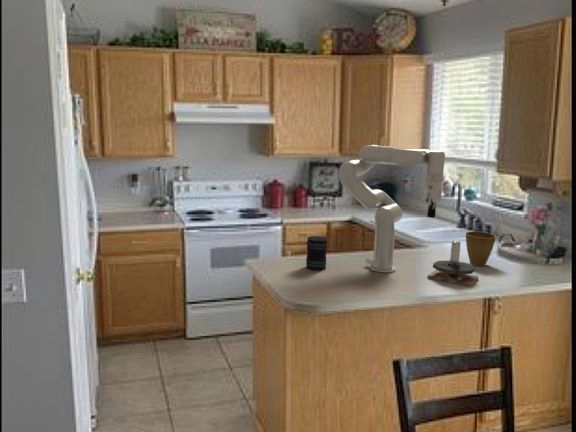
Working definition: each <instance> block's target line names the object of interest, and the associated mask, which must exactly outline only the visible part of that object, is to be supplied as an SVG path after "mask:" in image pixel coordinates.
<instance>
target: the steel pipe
mask: <svg viewBox="0 0 576 432" xmlns="http://www.w3.org/2000/svg"><path fill="white" fill-rule="evenodd" d="M461 243H462V241H459V240H452V241H451V246H450V259H449V261H450V267H458V266H459V262H460V255H461V254H460V253H461ZM449 276H451V277H457V276H458V275H457V274H450V273H449Z"/></svg>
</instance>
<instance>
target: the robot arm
mask: <svg viewBox="0 0 576 432" xmlns="http://www.w3.org/2000/svg"><path fill="white" fill-rule="evenodd" d="M358 155H359V157H357V158H356V159H351V160H347V161H344V162H343V163H342V164H340V167H339V169H338V178H339V181H340V184H341V185H342V186H343V187H344V189H345V190H346V191H348V193H350V195H351V196H352V197H354V198H355V200H357V201H358V202H359V203H360V204H361V205H362V206H363V208H364V209H366V210H368V211H373V210H376V211H375V213H374V227H375V228H374V230H375V231H374V245H373V246H374V247H373V258H366V259H365V262H366V263H365V264H370V265H369V270H371V271H374V272H377V273H394V272H395V271H396V269H397V268H396V267H395V266H394V265H393V264H394V251H395V250H394V249H395V238H396V237H395V236H396V231H395V224H396V223H398V222H400V220H401V219H402V218H403V210H402V208H401V206H400V205H399V204H398V203H397V202H396V201H395V200H393V198H391V197H390V196H389V195H388V193H386V192H385V191H384V190H381V189H373V188H371V187H370V186H368V185H367V184H366V183H365V182H364V181H363V180H362V179H360V178H359V177H361V176H363V175H365V174H366V173H367V172H369V170H371V169H372V168H373V167H374V166H376V165H377V164H381V165H392V166H394V165H396V166H402V167H403V166H404V167H406V166H407V167H420V166H426V173H425V181H427V182H426V189H425V198H424V199H425V200H424V202H426V203H427V204H426V205H427V216H426V217H428V218H433V219H434V218H436V210H437V209H436V208H437V203H440V202H441V201H442V197H443V196H442V195H443V193H442V192H443V191H442V188H443V182H444V171H445V170H444V169H445V168H444V167H445V161H446V159H445V157H446V153H445V152H444V151H443V150H429V149H424V148H420V149H419V148H418V149H406V148H405V149H404V148H403V149H402V148H396V147H395V146H391V145H389V146H388V145H386V146H385V145H376V144H369V145H367V144H366V145H364V146H362V147H361V148H360V150H359V154H358Z"/></svg>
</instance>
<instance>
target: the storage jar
mask: <svg viewBox="0 0 576 432" xmlns="http://www.w3.org/2000/svg"><path fill="white" fill-rule="evenodd" d="M306 250H307V252H306V253H307V254H306V258H305V259H306V260H305V261H306V262H305V264H306V266H305V268H306V269H307V270H309V271H313V272H320V271H326V268H327V267H326V266H327V250H328V237H325V236H319V235H315V236H313V235H312V236H308V237H307V242H306Z"/></svg>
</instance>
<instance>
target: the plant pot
mask: <svg viewBox="0 0 576 432" xmlns="http://www.w3.org/2000/svg"><path fill="white" fill-rule="evenodd" d="M496 239H497V236H496V234H493V233H489V232H484V231H477V230H475V231H473V230H472V231H467V232H465V242H466V243H465V245H466V250H467V256H468V260H469V262H470V263H469V264H470V265H472V266H475V267H476V266H477V267H483V266H486V264H487V262H488V260H489V258H490V257H491V253H492V251H493V248H494V245H495V241H496Z"/></svg>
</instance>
